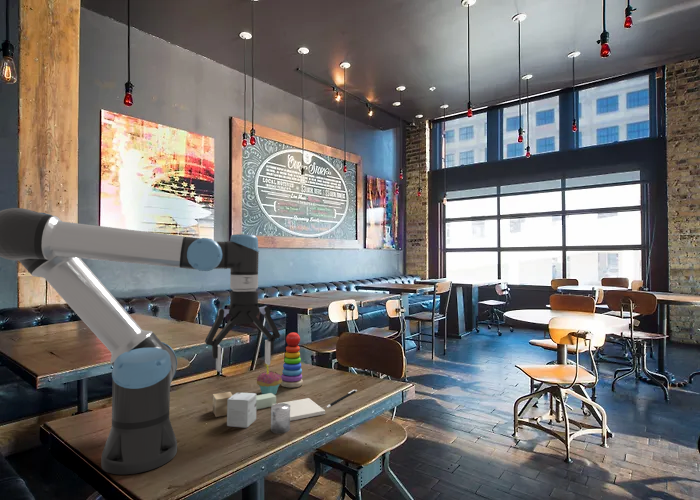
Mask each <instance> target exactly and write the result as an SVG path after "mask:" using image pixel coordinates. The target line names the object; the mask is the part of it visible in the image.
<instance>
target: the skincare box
mask: <svg viewBox="0 0 700 500" xmlns="http://www.w3.org/2000/svg"><path fill="white" fill-rule="evenodd" d="M256 396H257V393H254V392H240V391H239V392H235V393H234V394H232V396H231V397H230V398H229V399H227V415H226V426H227V427H235V428H245V429H246V428H249V426H250V425H252V423H254V422H256V421H257V409H256Z"/></svg>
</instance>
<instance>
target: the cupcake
mask: <svg viewBox="0 0 700 500" xmlns="http://www.w3.org/2000/svg"><path fill="white" fill-rule="evenodd" d="M265 364H266V363H265ZM265 367H266V371H265V372H262V373H259V375H258V376H257V377H256V384H257V386H258V387H259V389H260V392H261V395H262V394H268V393H272V394H274V395H275V396H276V394H277V392H278V389H279V386H280V385H281V383H282V377H281V375H280V374H279V373H278V372H276V371H272V370H271V371H269V369H270V368H269V365H267V364H266V366H265Z"/></svg>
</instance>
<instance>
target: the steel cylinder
mask: <svg viewBox="0 0 700 500" xmlns="http://www.w3.org/2000/svg"><path fill="white" fill-rule="evenodd" d="M278 403H279V404H277V403H276V404H274V405H272V406H271V407H270V431H271V432H272V433H273V434H284V433H288V432H290V430H291V421H290V405H289V404H285V403H283V402H278Z"/></svg>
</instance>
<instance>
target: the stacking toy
mask: <svg viewBox="0 0 700 500" xmlns="http://www.w3.org/2000/svg"><path fill="white" fill-rule="evenodd" d="M285 341H286V344H287V346H286V347H285V350H286V351H285V353H284V360H283V361H284V362H283V365H282V367H283V369H282V374H281V375H280V376H281V377H282V383H280V385H281V386H282V387H283V388H290V389H292V388H299V387H302V385H303V384H304V380H303V374H302V373H303V369H302V363H301V361H302V358H301V353H300V349H301V348H300V346H299V344H300V342H301V337H300V335H299V334H298V332H290V333H288V334H287V335H286V337H285Z"/></svg>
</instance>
